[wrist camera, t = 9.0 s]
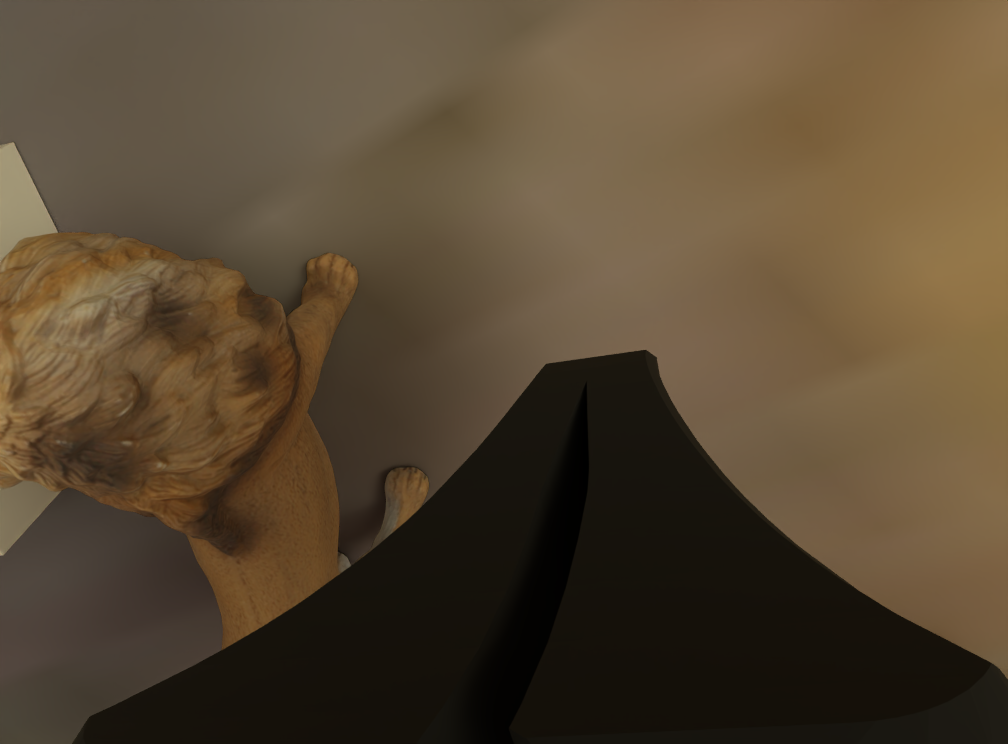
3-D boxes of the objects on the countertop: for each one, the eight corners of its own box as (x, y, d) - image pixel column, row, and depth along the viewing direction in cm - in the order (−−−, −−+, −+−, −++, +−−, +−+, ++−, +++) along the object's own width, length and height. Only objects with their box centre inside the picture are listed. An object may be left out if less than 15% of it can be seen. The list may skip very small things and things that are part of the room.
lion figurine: (88, 171, 21) (-240, 365, 13) (290, 99, 19) (56, 267, 11) (350, 627, 27) (236, 937, 19) (516, 598, 26) (464, 921, 18)
